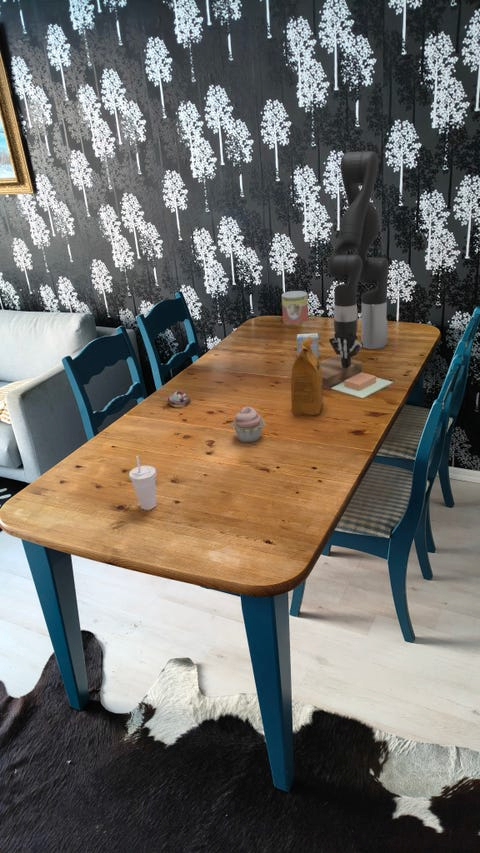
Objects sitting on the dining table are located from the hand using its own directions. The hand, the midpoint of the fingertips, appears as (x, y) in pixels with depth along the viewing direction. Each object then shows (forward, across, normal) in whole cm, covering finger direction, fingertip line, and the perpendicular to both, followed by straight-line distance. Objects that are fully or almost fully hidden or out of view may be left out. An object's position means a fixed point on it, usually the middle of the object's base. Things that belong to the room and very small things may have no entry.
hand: (346, 367), depth 208 cm
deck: (+5, +6, 0) cm, 8 cm away
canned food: (+5, +61, -42) cm, 74 cm away
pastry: (+5, +32, +46) cm, 57 cm away
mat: (+5, -7, 0) cm, 8 cm away
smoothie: (+5, -10, +90) cm, 90 cm away
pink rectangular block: (+2, -6, 0) cm, 7 cm away
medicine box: (+5, +26, -10) cm, 28 cm away
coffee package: (+5, -4, +24) cm, 25 cm away
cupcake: (+5, -4, +49) cm, 50 cm away
